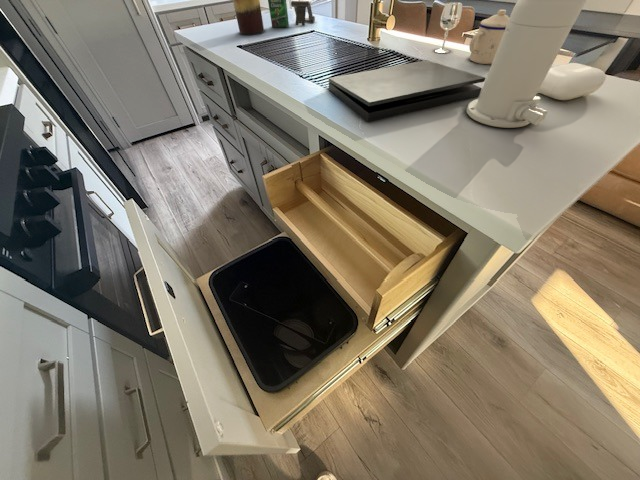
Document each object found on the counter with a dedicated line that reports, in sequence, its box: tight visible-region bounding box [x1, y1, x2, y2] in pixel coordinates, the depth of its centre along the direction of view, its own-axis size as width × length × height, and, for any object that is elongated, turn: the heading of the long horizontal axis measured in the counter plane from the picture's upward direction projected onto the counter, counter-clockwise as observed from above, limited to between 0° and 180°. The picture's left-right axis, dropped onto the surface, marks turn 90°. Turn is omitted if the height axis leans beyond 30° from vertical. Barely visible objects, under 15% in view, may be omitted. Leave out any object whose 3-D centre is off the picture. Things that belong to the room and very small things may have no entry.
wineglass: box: [434, 1, 463, 54], centre depth 84 cm, size 6×6×12 cm
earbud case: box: [537, 62, 607, 101], centre depth 61 cm, size 10×13×5 cm
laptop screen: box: [328, 59, 486, 106], centre depth 65 cm, size 21×30×1 cm
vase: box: [232, 0, 265, 36], centre depth 112 cm, size 11×11×20 cm
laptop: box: [328, 81, 483, 123], centre depth 66 cm, size 21×30×2 cm
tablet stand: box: [290, 0, 316, 26], centre depth 124 cm, size 9×8×8 cm
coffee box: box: [267, 0, 290, 29], centre depth 119 cm, size 8×3×13 cm, turn 70°
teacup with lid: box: [469, 9, 510, 65], centre depth 77 cm, size 12×9×12 cm
